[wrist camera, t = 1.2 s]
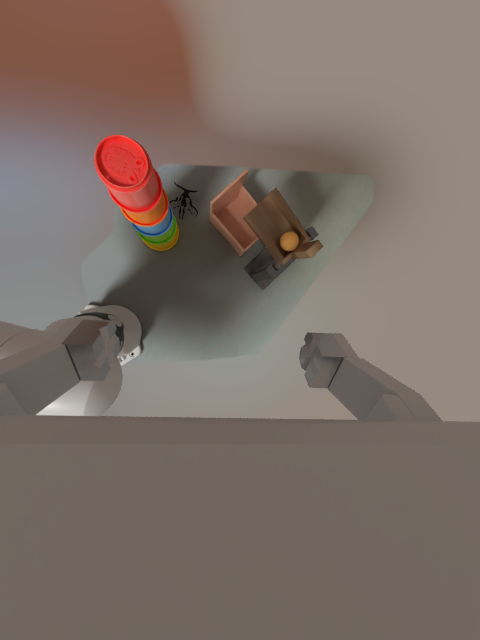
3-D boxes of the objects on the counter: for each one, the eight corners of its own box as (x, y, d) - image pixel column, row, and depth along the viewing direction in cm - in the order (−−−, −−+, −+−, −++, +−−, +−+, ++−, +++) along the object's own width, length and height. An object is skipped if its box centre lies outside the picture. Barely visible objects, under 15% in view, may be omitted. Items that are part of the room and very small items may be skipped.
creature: (195, 224, 65) (202, 194, 62) (193, 222, 59) (201, 190, 57) (167, 215, 63) (173, 184, 61) (163, 212, 58) (170, 178, 56)
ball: (285, 256, 51) (292, 253, 47) (273, 242, 50) (279, 238, 46) (297, 244, 51) (305, 240, 47) (286, 230, 50) (293, 225, 46)
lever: (275, 271, 53) (298, 270, 43) (237, 222, 49) (253, 209, 38) (306, 241, 54) (337, 234, 43) (272, 190, 49) (296, 168, 39)
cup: (240, 256, 66) (249, 246, 54) (209, 220, 64) (210, 201, 51) (267, 230, 67) (283, 215, 54) (237, 194, 64) (246, 168, 52)
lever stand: (262, 289, 68) (281, 287, 52) (243, 268, 67) (257, 259, 50) (296, 257, 69) (326, 244, 52) (278, 235, 67) (303, 215, 51)
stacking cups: (165, 205, 62) (119, 94, 28) (186, 239, 63) (167, 173, 29) (132, 224, 61) (42, 133, 27) (154, 258, 63) (96, 213, 29)
